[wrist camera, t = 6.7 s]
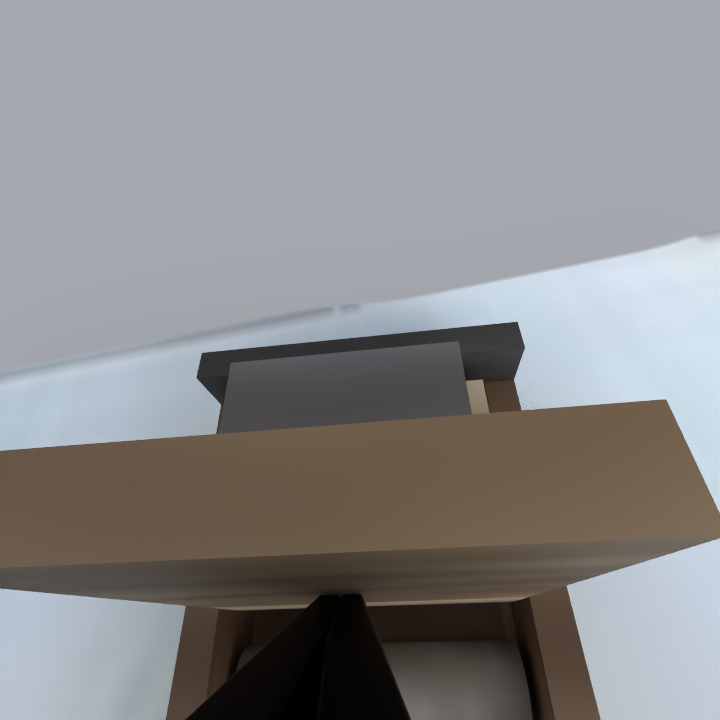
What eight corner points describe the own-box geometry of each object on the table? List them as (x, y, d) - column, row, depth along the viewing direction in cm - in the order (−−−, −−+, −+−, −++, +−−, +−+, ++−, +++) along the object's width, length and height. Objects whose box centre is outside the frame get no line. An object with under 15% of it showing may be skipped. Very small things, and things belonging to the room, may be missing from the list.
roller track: (654, 1125, 9) (902, 1672, 4) (175, 1082, 10) (-46, 1477, 5) (494, 400, 18) (517, 321, 13) (256, 419, 19) (202, 353, 14)
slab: (513, 601, 12) (728, 534, 3) (237, 610, 12) (-149, 575, 4) (476, 407, 15) (537, 126, 7) (259, 424, 16) (68, 194, 7)
